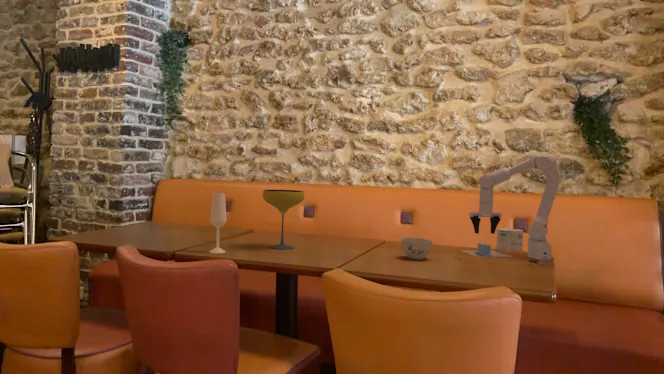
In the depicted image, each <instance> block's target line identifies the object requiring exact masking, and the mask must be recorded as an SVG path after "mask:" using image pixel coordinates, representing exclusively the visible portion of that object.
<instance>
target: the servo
mask: <svg viewBox="0 0 664 374" xmlns="http://www.w3.org/2000/svg"><path fill="white" fill-rule="evenodd" d="M491 248H492V246H491V244H487V243H485V242H481V243H477V249H476V250H477V252H475V253H476V254H478V255H481V256H485V257H484V258H494V257H493V255H490V250H492V249H491Z"/></svg>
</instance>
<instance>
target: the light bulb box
mask: <svg viewBox="0 0 664 374" xmlns="http://www.w3.org/2000/svg"><path fill="white" fill-rule="evenodd" d="M523 246H524V230H523V229H520V228H499V227H496V249H497V250H498V251H514V252H523Z"/></svg>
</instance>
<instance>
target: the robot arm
mask: <svg viewBox="0 0 664 374" xmlns="http://www.w3.org/2000/svg"><path fill="white" fill-rule="evenodd" d="M554 158H555V157H553V156H550V155H547V154H541V155H539V156H534V157H531V158H529V159H527V160H524V161H522V162H519V163H518V164H516V165H514V166H513V165H512V166H511V167H506V166H504V167H502V166H500V167H498V169H497V170H495V171H492V172H491V171H490V172H488V174H483V175H481V176H480V177H479V179H478V184H479V198H478V199H479V202H478V203H479V204H478V205H479V206H478V211H469V215H468V216H469V217H470V218H469V219H470V221H471V223H472V226H473V229H474V233H475V234H477V235H479V232H480V223H481V220H482V219H481V218H489V219H490V220H489V221H490V234H492V235H495V234H496V231H497V228H498V225H499V224H500V221H501V218H502V216H503V215H502V214H503V213H502V212H496V211H495V212H494V211H493V207H494V186H497V185H500V184H502V183H504V182H506V181H507V182H508V181H509V180H511V178H512V176H514V175H516V174H519V173H521V172H524V171H526V170H529V169H538V170H539V171H540V172H542V173H543V174H544V176H545V177H546V179H547V181H546V185H545V187H544V191H543V194H542V197H541V200H540V203H539V206H538V210H537V212H536V215H535V217H534V219H533V222H532V224H531V225H530V226H529V227H528V230H527V233H528V236H529V237H528V238H527V239H528V240H527V257H528V258H531V259H535V260H528V262H532V263H535V264H536V263H540V264H541V263H545V264H549V263H550V264H551V263H553V260H552V244H550V243H549V242H548V239H547V237H546V236H547V234H548V223H549V217H550V214H551V212H552V208H553V206H554V202H555V200H556V196H557V192H558V190H559V186H560V184H561V180H562V174H561V172H560V168H559V165H558V162H557V160H555V159H554Z"/></svg>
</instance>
